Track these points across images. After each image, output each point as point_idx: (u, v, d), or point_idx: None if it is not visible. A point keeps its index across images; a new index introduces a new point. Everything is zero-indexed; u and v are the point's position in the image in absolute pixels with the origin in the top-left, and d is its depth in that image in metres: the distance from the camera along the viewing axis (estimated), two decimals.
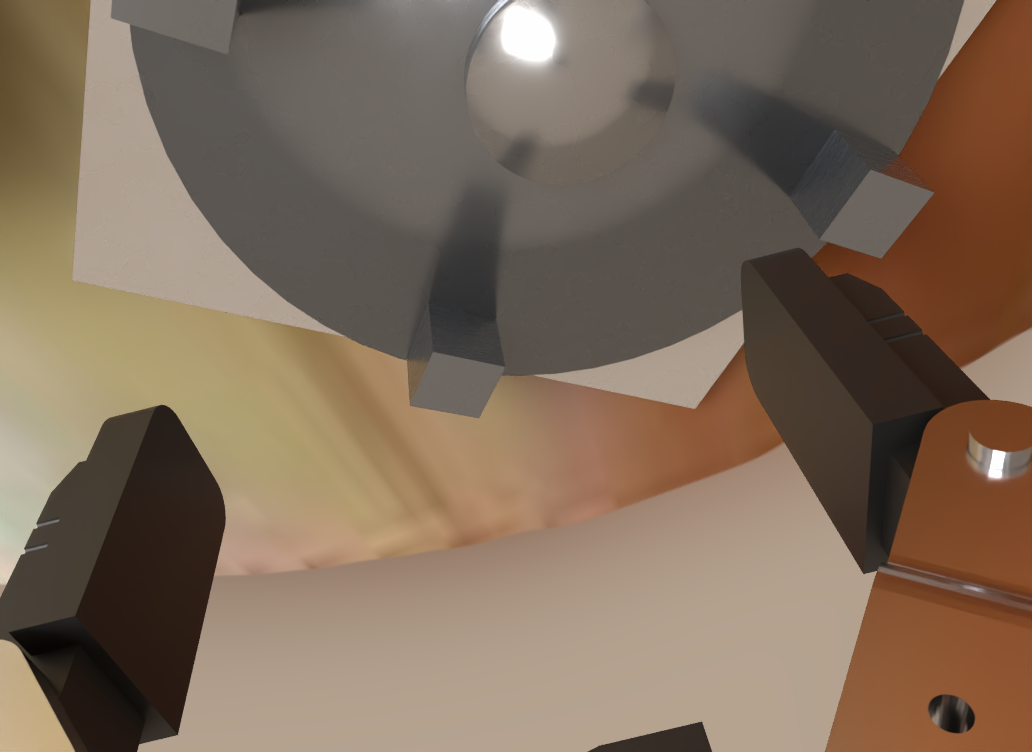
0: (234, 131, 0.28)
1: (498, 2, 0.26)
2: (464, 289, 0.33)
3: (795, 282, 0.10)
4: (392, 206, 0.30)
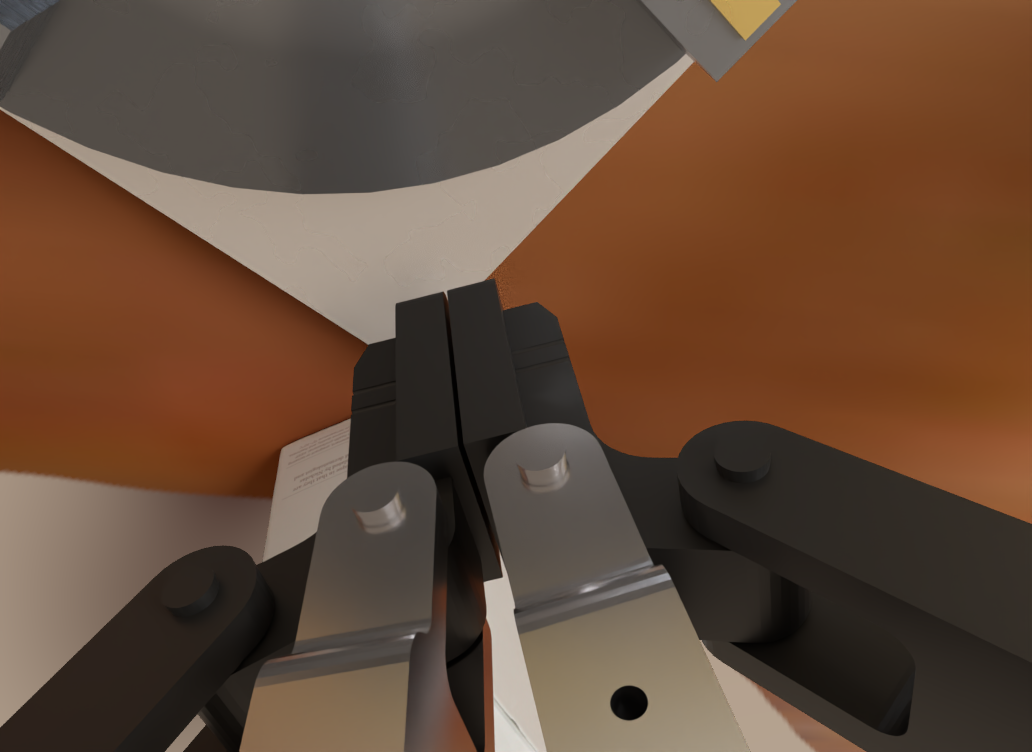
0: None
1: None
2: None
3: (472, 311, 0.11)
4: None
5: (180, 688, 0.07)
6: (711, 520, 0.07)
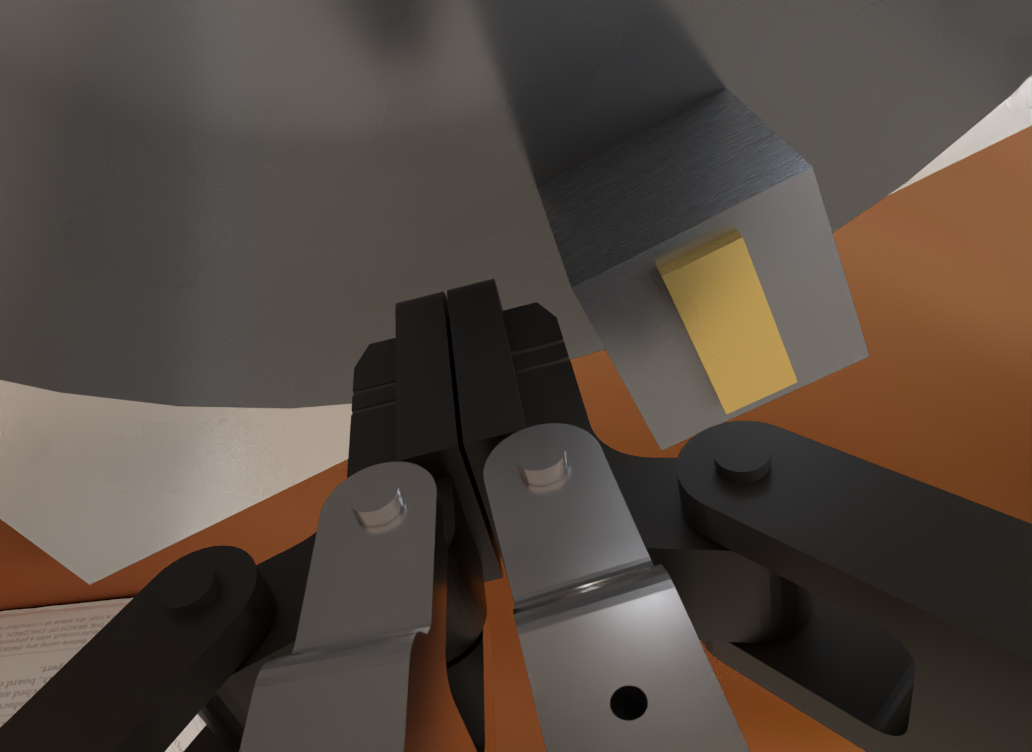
0: None
1: None
2: None
3: (472, 312, 0.11)
4: None
5: (180, 688, 0.07)
6: (711, 520, 0.07)
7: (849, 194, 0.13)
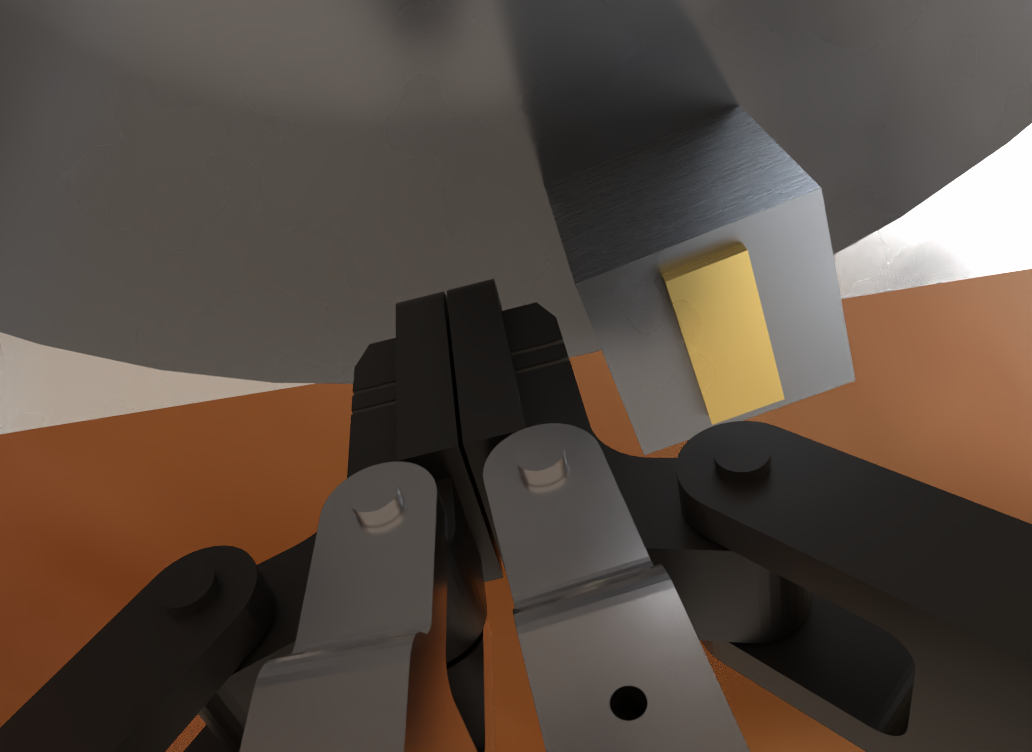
0: None
1: None
2: None
3: (472, 312, 0.11)
4: None
5: (180, 689, 0.07)
6: (710, 520, 0.07)
7: (846, 222, 0.13)
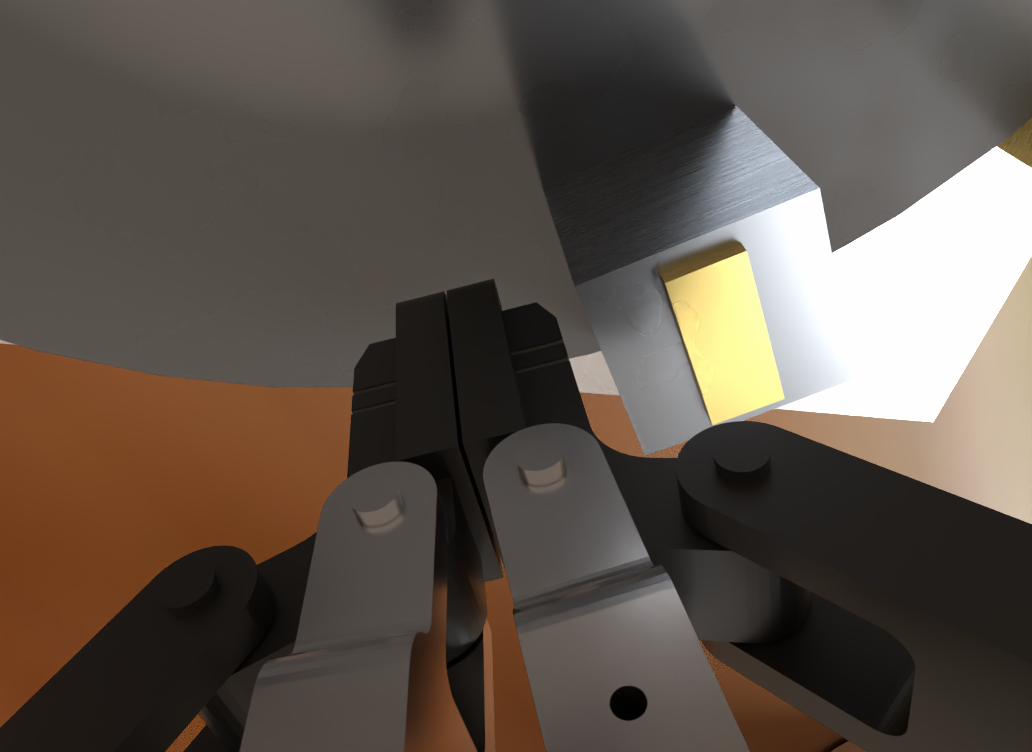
0: None
1: None
2: None
3: (471, 312, 0.11)
4: None
5: (182, 689, 0.07)
6: (711, 521, 0.07)
7: (843, 221, 0.13)
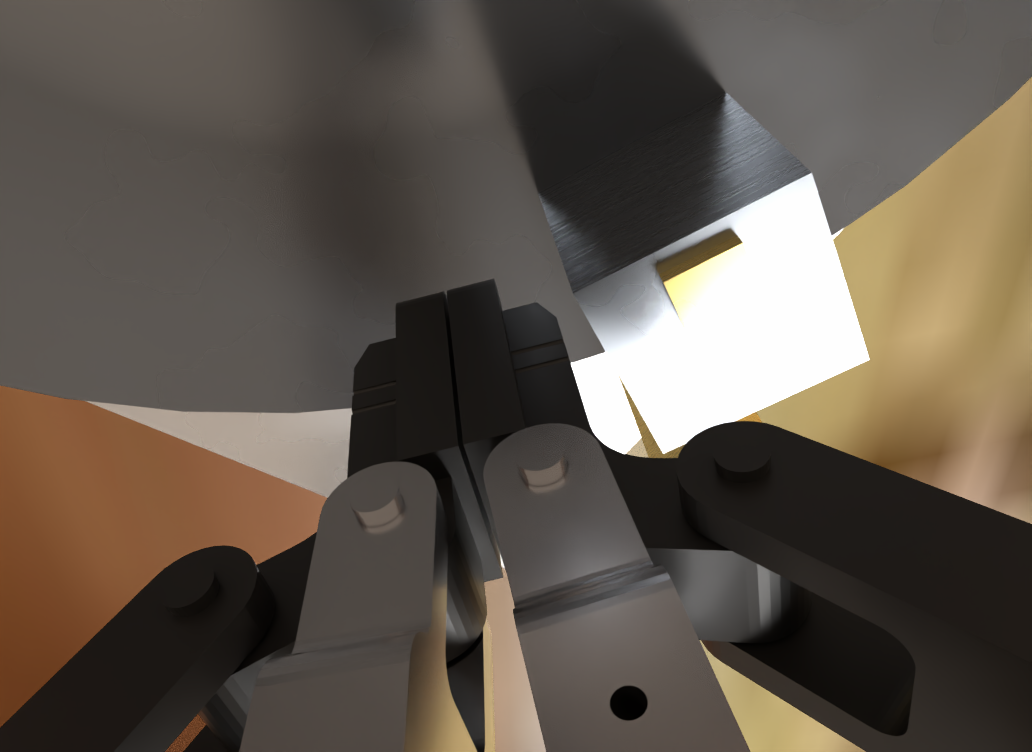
0: None
1: None
2: None
3: (472, 312, 0.11)
4: None
5: (181, 690, 0.07)
6: (711, 520, 0.07)
7: (849, 197, 0.13)
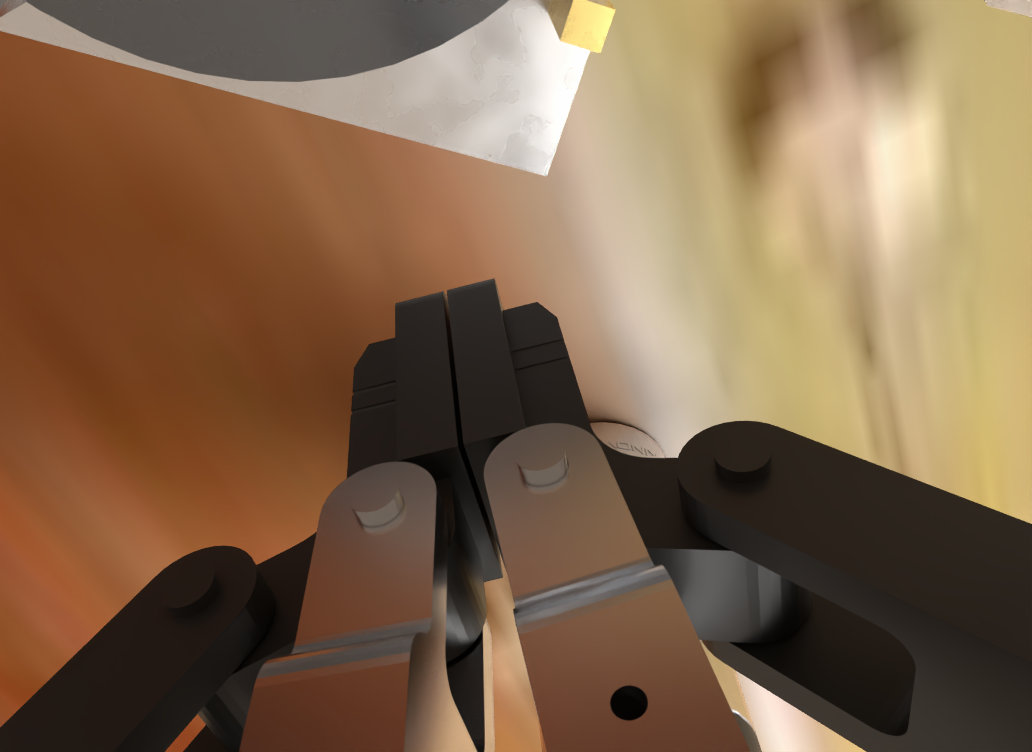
0: None
1: None
2: None
3: (472, 311, 0.11)
4: None
5: (180, 689, 0.07)
6: (711, 520, 0.07)
7: None
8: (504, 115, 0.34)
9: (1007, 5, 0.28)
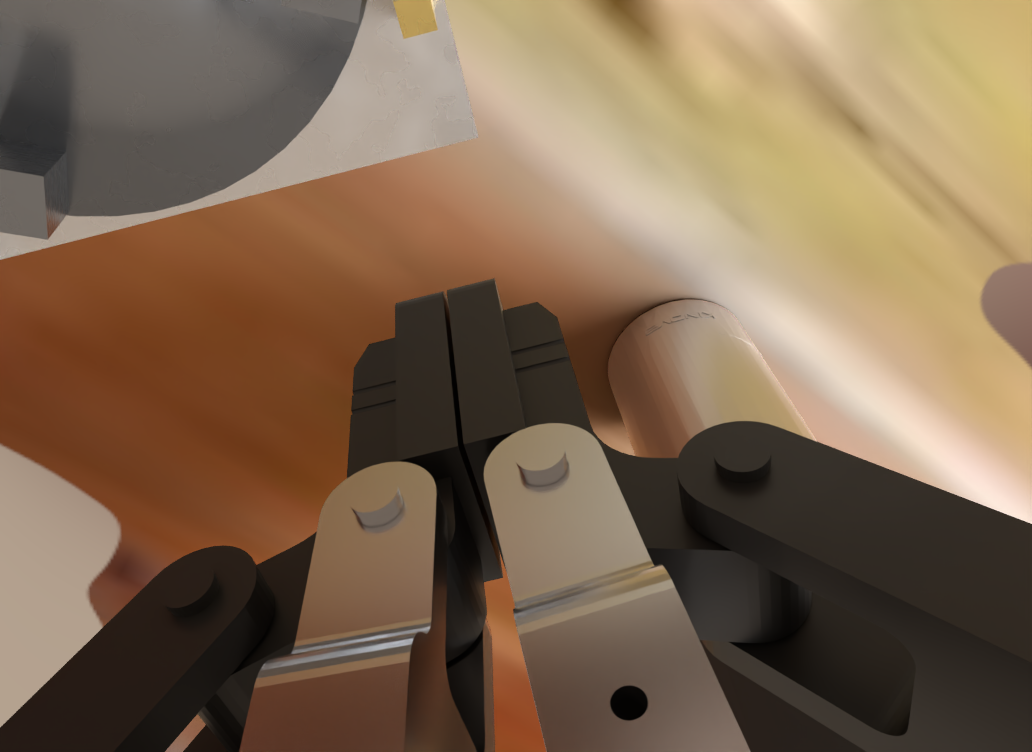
0: None
1: None
2: None
3: (472, 311, 0.11)
4: None
5: (182, 689, 0.07)
6: (711, 520, 0.07)
7: None
8: (418, 110, 0.41)
9: None
